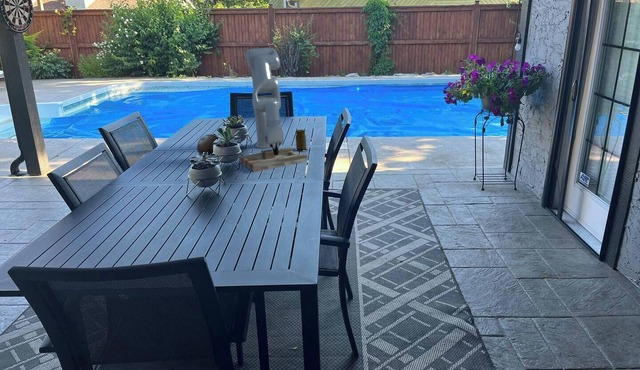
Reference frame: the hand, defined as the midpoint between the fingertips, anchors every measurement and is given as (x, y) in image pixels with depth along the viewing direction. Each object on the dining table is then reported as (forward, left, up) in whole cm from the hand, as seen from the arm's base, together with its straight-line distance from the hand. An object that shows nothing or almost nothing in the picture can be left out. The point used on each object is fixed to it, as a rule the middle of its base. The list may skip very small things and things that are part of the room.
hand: (275, 154), depth 274 cm
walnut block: (0, -5, -1) cm, 5 cm away
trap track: (+4, -3, -3) cm, 6 cm away
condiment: (-10, +22, -3) cm, 24 cm away
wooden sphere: (-24, -30, -3) cm, 39 cm away
